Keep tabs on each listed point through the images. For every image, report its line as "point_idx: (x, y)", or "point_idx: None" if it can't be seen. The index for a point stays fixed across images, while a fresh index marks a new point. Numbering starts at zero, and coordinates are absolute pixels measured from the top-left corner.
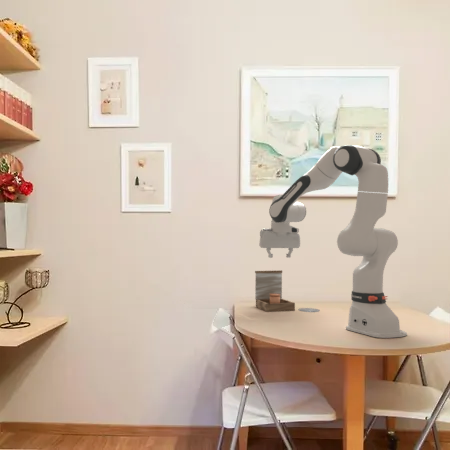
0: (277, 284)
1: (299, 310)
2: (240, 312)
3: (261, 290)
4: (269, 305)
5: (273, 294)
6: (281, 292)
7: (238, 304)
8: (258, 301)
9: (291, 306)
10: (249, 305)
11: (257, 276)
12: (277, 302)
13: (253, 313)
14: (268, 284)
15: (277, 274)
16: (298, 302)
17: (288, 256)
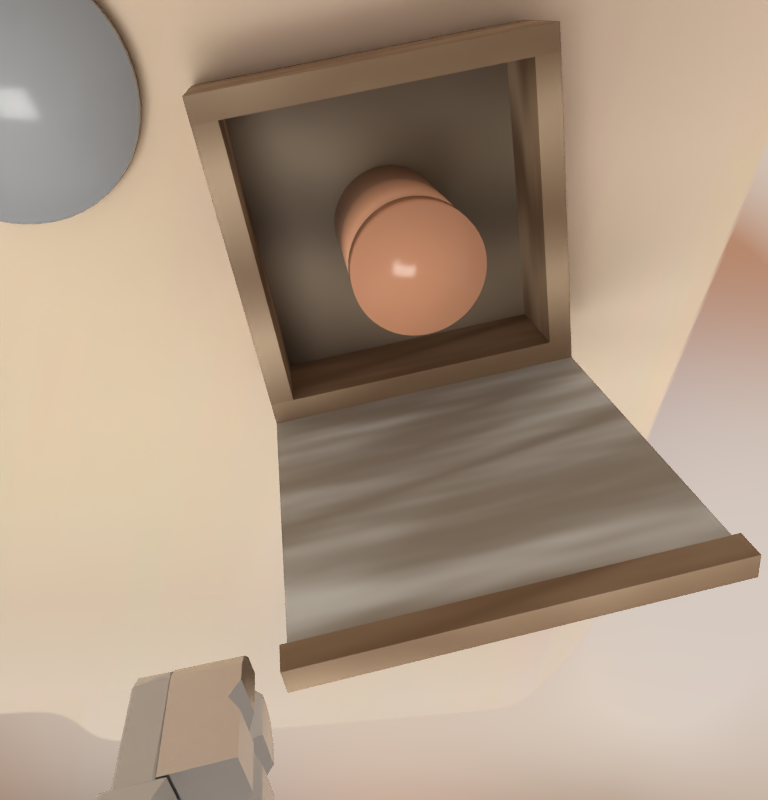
0: (344, 506)
1: (132, 73)
2: (760, 104)
3: (542, 418)
4: (527, 25)
5: (454, 219)
6: (281, 459)
7: None
8: (565, 286)
9: (231, 83)
10: None
11: (681, 510)
12: (387, 184)
13: (662, 32)
14: (473, 478)
15: (362, 606)
16: (59, 599)
17: (218, 678)
